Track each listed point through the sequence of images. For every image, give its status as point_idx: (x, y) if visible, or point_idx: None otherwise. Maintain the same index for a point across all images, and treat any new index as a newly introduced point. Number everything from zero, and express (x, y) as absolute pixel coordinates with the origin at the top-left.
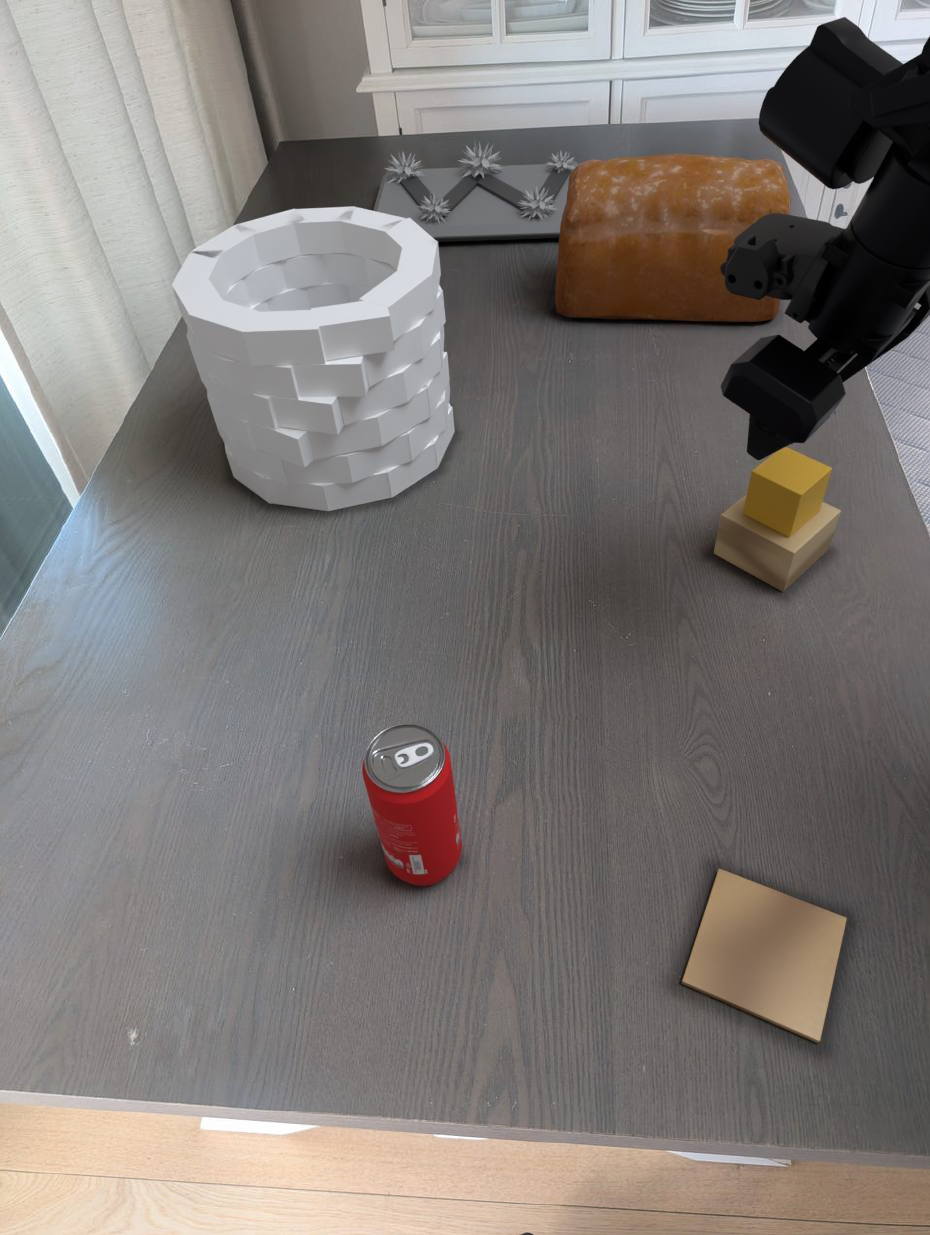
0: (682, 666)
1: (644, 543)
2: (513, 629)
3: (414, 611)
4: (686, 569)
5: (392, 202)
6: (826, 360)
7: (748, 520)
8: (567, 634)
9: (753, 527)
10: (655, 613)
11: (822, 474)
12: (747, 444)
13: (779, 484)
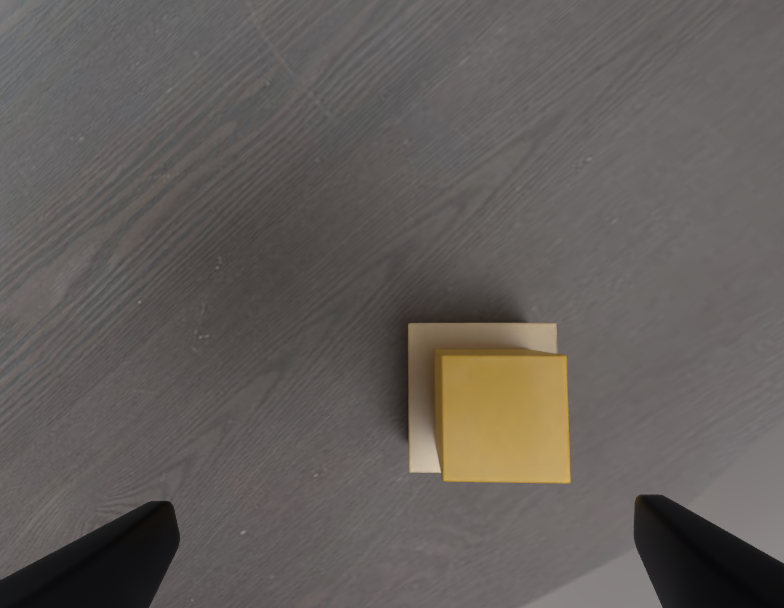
0: (207, 422)
1: (359, 238)
2: (116, 220)
3: (57, 105)
4: (356, 316)
5: None
6: (746, 603)
7: (427, 367)
8: (154, 277)
9: (417, 384)
10: (259, 337)
11: (534, 479)
12: (104, 526)
13: (443, 425)
